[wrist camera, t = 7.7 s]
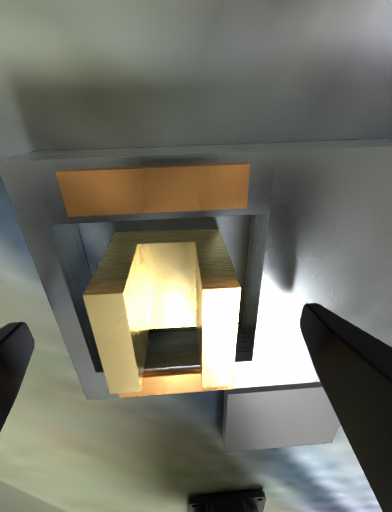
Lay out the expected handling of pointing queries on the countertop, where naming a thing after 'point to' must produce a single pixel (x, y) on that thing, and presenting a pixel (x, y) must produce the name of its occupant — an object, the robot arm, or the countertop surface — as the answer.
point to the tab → (277, 417)
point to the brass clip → (163, 302)
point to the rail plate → (259, 249)
